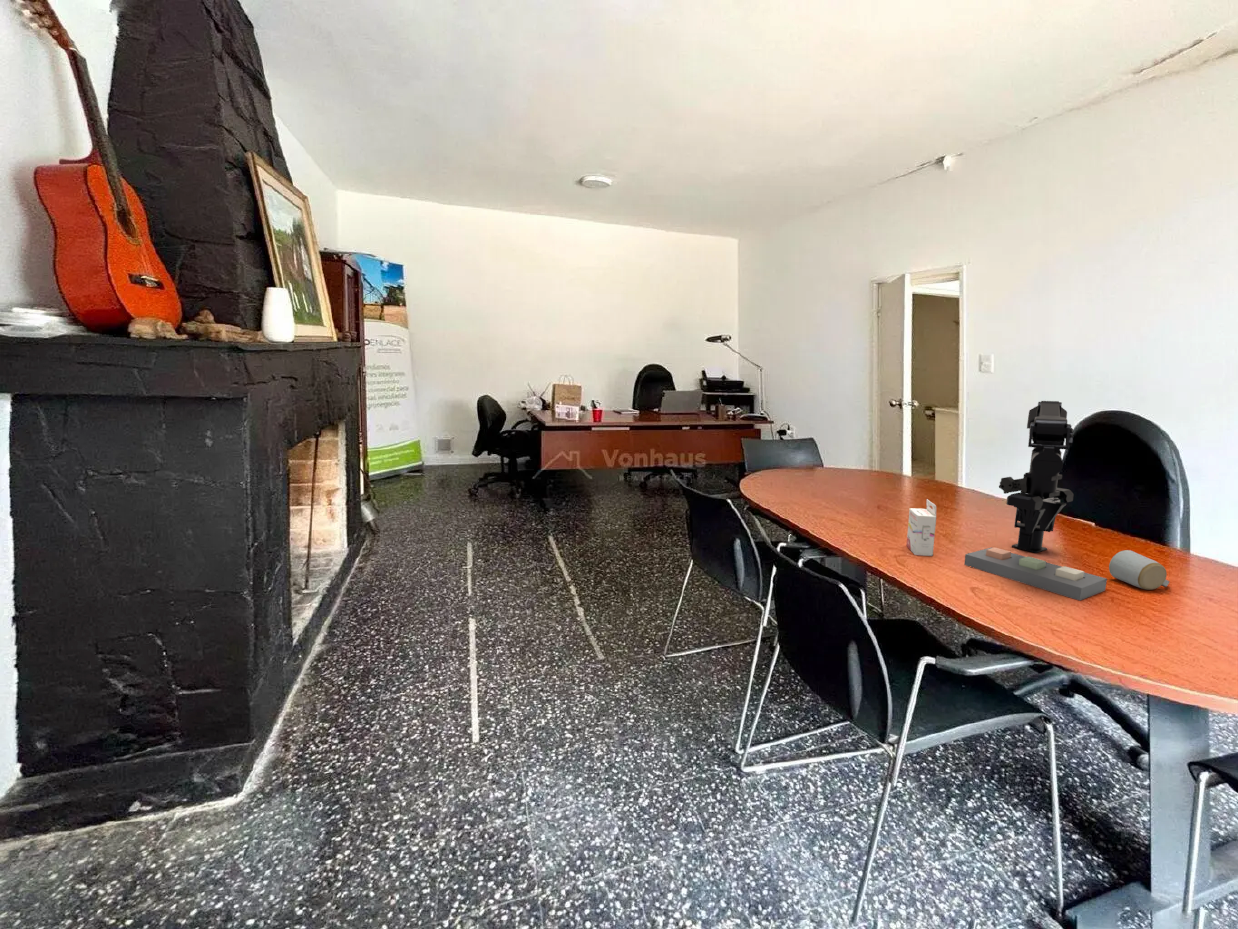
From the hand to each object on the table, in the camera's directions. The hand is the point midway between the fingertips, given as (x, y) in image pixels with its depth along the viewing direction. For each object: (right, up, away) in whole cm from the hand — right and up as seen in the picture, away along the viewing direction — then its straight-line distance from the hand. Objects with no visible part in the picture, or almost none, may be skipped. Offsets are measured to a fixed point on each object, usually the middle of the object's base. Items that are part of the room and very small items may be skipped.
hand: (1036, 531), depth 137 cm
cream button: (+4, -11, -5) cm, 13 cm away
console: (0, -12, +2) cm, 12 cm away
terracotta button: (-4, -9, +9) cm, 13 cm away
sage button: (0, -10, +2) cm, 10 cm away
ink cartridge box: (-17, -9, +22) cm, 29 cm away
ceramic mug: (+23, -13, -3) cm, 27 cm away
